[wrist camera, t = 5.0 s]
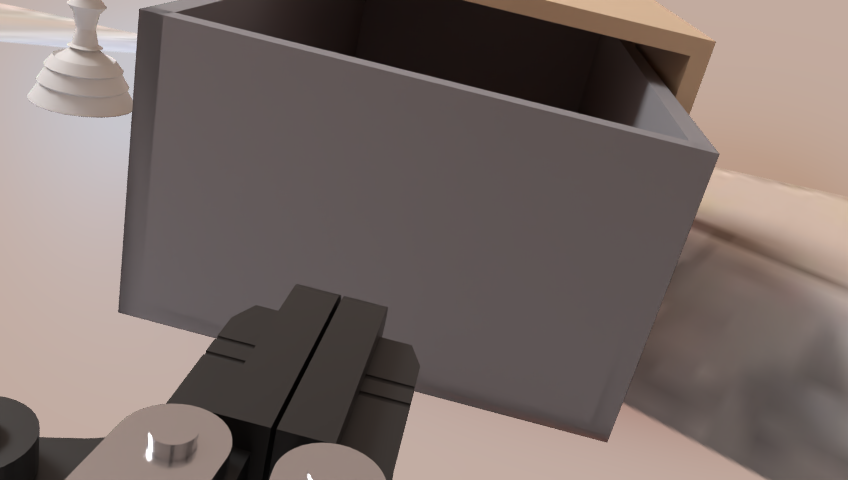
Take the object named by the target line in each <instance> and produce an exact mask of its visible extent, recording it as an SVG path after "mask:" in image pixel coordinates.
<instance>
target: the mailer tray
mask: <svg viewBox="0 0 848 480" xmlns="http://www.w3.org/2000/svg"><path fill="white" fill-rule="evenodd" d="M718 157H719V153H718V152H717V150H716V149H715V148H714V146H713V145H712V144H711V143H710V141H709V140H708V139H707V138H706V136H705V135H704V134H703V132H702V131H701V130H700V129H699V128H698V126H697V125H696V123H695V122H694V121H693V120H692V119H691V117H690V116H689V114H688V113H687V112H686V111H685V109H684V108H683V107H682V106H681V104H680V103H679V102H678V100H677V99H676V98H675V97H674V95H673V94H672V93H671V91H670V90H669V89H668V88H667V86H666V85H665V84H664V83H663V81H662V80H661V79H660V77H659V76H658V75H657V74H656V72H655V71H654V70H653V68H652V67H651V66H650V65H649V63H648V62H647V61H646V60H645V58H644V57H643V56H642V54H641V53H640V52H639V51H638V49H637V48H636V47H635V45H634V44H633V43H632V42H631V41H627V40H623V39H619V38H615V37H611V36H607V35H603V34H599V33H595V32H591V31H587V30H583V29H579V28H574V27H570V26H566V25H562V24H558V23H554V22H550V21H546V20H542V19H538V18H534V17H530V16H526V15H522V14H517V13H513V12H509V11H505V10H501V9H497V8H493V7H489V6H485V5H481V4H477V3H473V2H469V1H464V0H178V1H174V2H169V3H164V4H160V5H155V6H151V7H146V8H142V9H139V21H138V35H137V50H136V65H135V80H134V93H133V108H132V122H131V137H130V153H129V166H128V180H127V195H126V209H125V224H124V238H123V239H124V240H123V252H122V267H121V282H120V296H119V310H118V312H119V313H123V314H127V315H130V316H134V317H138V318H142V319H146V320H149V321H153V322H157V323H160V324H164V325H168V326H172V327H176V328H179V329H183V330H187V331H190V332H195V333H198V334H202V335H205V336H209V337H213V338H217V336H218V334H219V333H220V332H221V330H222V329H223V328H224V326H225V325H226V324H227V322H228V321H229V320H230V318H231V317H233V316H235V315H237V314H239V313H241V312H243V311H245V310H247V309H249V308H251V307H253V306H255V305H258V306H262V307H266V308H270V309H274V310H277V311H279V309H280V308H281V306H282V304H283V303H284V301H285V300H286V298H287V297H288V295H289V294H290V292H291V291H292V289H293V287H294V286H295V285H296V284H300V285H304V286H308V287H312V288H316V289H319V290H323V291H327V292H331V293H335V294H339V295H341V300H342V298H343V297H344V296H347V297H351V298H355V299H359V300H363V301H367V302H371V303H374V304H378V305H382V306H386V307H388V312H387V318H386V322H385V327H384V331H383V336H382V338H386V339H390V340H394V341H398V342H402V343H406V344H409V345H412V347H413V349H414V352H415V354H416V357H417V359H418V362H419V364H420V369H419V373H418V377H417V381H416V385H415V389H414V391H416V392H420V393H423V394H427V395H431V396H435V397H438V398H442V399H446V400H450V401H454V402H457V403H461V404H465V405H468V406H472V407H476V408H480V409H483V410H487V411H491V412H495V413H498V414H502V415H506V416H510V417H514V418H517V419H521V420H525V421H528V422H532V423H536V424H540V425H544V426H548V427H551V428H555V429H559V430H562V431H566V432H570V433H574V434H578V435H581V436H585V437H589V438H592V439H596V440H600V441H604V442H607V441H608V439H609V436H610V434H611V431H612V429H613V426H614V423H615V421H616V418H617V416H618V413H619V411H620V408H621V405H622V403H623V400H624V398H625V395H626V393H627V390H628V388H629V385H630V382H631V380H632V377H633V375H634V372H635V370H636V367H637V364H638V362H639V359H640V357H641V354H642V352H643V349H644V346H645V344H646V341H647V339H648V336H649V334H650V331H651V329H652V326H653V323H654V321H655V318H656V316H657V313H658V311H659V308H660V305H661V303H662V300H663V298H664V295H665V293H666V290H667V287H668V285H669V282H670V280H671V277H672V275H673V272H674V270H675V267H676V264H677V262H678V259H679V257H680V254H681V252H682V249H683V246H684V244H685V241H686V239H687V236H688V234H689V231H690V229H691V226H692V223H693V221H694V218H695V216H696V213H697V211H698V208H699V205H700V203H701V200H702V198H703V195H704V193H705V190H706V187H707V185H708V182H709V180H710V177H711V175H712V172H713V170H714V167H715V164H716V162H717V159H718Z"/></svg>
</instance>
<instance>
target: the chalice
mask: <svg viewBox="0 0 848 480" xmlns="http://www.w3.org/2000/svg"><path fill="white" fill-rule="evenodd" d="M67 4H68V5H69V6H70V7H71V8H72V10H73V13H74V19H75V25H76V29H75V32H74V36H73V40H72V42H69V43H67V45H68V46H70V47H69V48H67V49H62V50H57V51H54V52H53V53H52V54H51V55H50V56H49V57H48V58H47V59H46V60H45V61H44V62H43V64H44V65H45V66H44V68H43V69H42V70H41V72H40V73H39V74H38V75H37V77H36V80H37V83H36V84H35V86H34V87H33V88H32V90H31V91H30V92H29V94H28V95H27V97H28V99H29V101H30V102H32V103H33V104H35V105H37V106H38V107H41V108H44V109H46V110H49V111H53V112H57V113H62V114H66V115H74V116H81V117H116V116H121V115H125V114H129V113H130V112H132V108H133V100H132V98H131V97H130V95H129V93H128V89H129V86H128V84H127V83H126V81H125V79H124V77H123V75H122V74H123V72H124V71H123V70H122V69H121V67H120V66H119V64H118V63H117V62H116V61H115V59H114V58H112V57H110V56H108V55H105V54H103V53H102V52H101V51H100V50H102V49H103V48H102V47H101V46H99V45H98V40H97V34H96V27H97V23H98V19H99V16H100V14H101V13H102V12H103V11H104V10H105V9H106V8H107V7H106V6H105V5H104V3H103V2H102V1H101V0H68V1H67Z"/></svg>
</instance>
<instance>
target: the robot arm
mask: <svg viewBox="0 0 848 480" xmlns="http://www.w3.org/2000/svg"><path fill="white" fill-rule="evenodd" d="M387 312H388V307H386V306H382V305H378V304H374V303H371V302H367V301H363V300H359V299H355V298H351V297H347V296H344V297H343V298H342V300H341V295H339V294H335V293H331V292H327V291H323V290H319V289H316V288H312V287H308V286H304V285H300V284H296V285H295V286H294V287H293V289H292V291H291V292H290V294H289V295H288V297H287V298H286V300H285V301H284V303H283V304H282V306H281V308H280V309H279V311H277V310H274V309H270V308H266V307H262V306H258V305H255V306H253V307H251V308H249V309H247V310H245V311H243V312H241V313H239V314H237V315H235V316H233V317H231V318H230V320H229V321H228V322H227V324H226V325H225V326H224V328H223V329H222V330H221V332H220V333H219V334H218V336H217V339H215V340H214V341H213V342H212V344H211V345H210V347H209V348H208V349H207V350H206V354H205V355H203V356H202V357H201V358H200V360H199V361H198V362H197V363H196V365H195V366H194V368H193V369H192V370H191V371H190V373H189V374H188V375H187V377H186V378H185V379H184V381H183V382H182V383H181V385H180V386H179V387H178V389H177V390H176V391H175V393H174V394H173V395H172V397H171V398H170V399H169V401H168V402H167V403H166V404H160V405H155V406H150V407H147V408H143V409H141V410H139V411H136V412H134V413H132V414H131V415H129V416H127V417H126V418H125V419H124V420H122V421H121V422H120V423H119V424H118V425H117V426H116V427H115V428H114V429H113V430H112V431H111V432H110V433H109V434H108V435H107V436H106V437H105V438H90V439H82V438H44V437H39V429H40V428H39V421H38V419H37V417H36V415H35V413H34V412H33V411H32V410H31V409H30V408H29V407H27V406H26V405H24V404H22V403H20V402H18V401H16V400H13V399H10V398H6V397H0V480H392V478H393V471H394V468H395V464H396V460H397V456H398V452H399V448H400V444H401V440H402V436H403V432H404V428H405V424H406V421H407V417H408V413H409V409H410V405H411V401H412V397H413V393H414V389H415V385H416V381H417V377H418V373H419V369H420V364H419V362H418V359H417V357H416V354H415V352H414V349H413V347H412V345H409V344H406V343H402V342H398V341H394V340H390V339H386V338H382V336H383V331H384V327H385V322H386V318H387Z"/></svg>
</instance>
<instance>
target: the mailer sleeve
mask: <svg viewBox="0 0 848 480" xmlns="http://www.w3.org/2000/svg"><path fill="white" fill-rule="evenodd" d="M464 1H469V2H473V3H477V4H481V5H485V6H489V7H493V8H497V9H501V10H505V11H509V12H513V13H517V14H522V15H526V16H530V17H534V18H538V19H542V20H546V21H550V22H554V23H558V24H562V25H566V26H570V27H574V28H579V29H583V30H587V31H591V32H595V33H599V34H603V35H607V36H611V37H615V38H619V39H623V40H627V41H631V42H632V43H633V44H634V45H635V47H636V48H637V49H638V51H639V52H640V53H641V54H642V56H643V57H644V58H645V60H646V61H647V62H648V63H649V65H650V66H651V67H652V68H653V70H654V71H655V72H656V74H657V75H658V76H659V77H660V79H661V80H662V81H663V83H664V84H665V85H666V86H667V88H668V89H669V90H670V91H671V93H672V94H673V95H674V97H675V98H676V99H677V100H678V102H679V103H680V104H681V106H682V107H683V108H684V109H685V111H686V112H687V113H688V114H690V111H691V109H692V106H693V103H694V100H695V98H696V95H697V92H698V89H699V87H700V84H701V81H702V78H703V76H704V73H705V70H706V67H707V65H708V62H709V59H710V57H711V54H712V51H713V48H714V46H715V43H716V42H715V41H714V40H712V39H711V38H710V37H708V36H707V35H705V34H704V33H702V32H701V31H699V30H698V29H696V28H695V27H693V26H692V25H690V24H689V23H687V22H686V21H684V20H683V19H681V18H680V17H678V16H677V15H675V14H674V13H672V12H671V11H669V10H668V9H666V8H665V7H664V6H662V5H661V4H659V3H658V2H656V1H655V0H464Z"/></svg>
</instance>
